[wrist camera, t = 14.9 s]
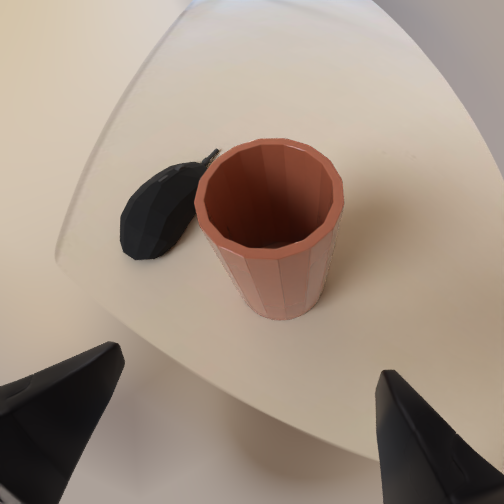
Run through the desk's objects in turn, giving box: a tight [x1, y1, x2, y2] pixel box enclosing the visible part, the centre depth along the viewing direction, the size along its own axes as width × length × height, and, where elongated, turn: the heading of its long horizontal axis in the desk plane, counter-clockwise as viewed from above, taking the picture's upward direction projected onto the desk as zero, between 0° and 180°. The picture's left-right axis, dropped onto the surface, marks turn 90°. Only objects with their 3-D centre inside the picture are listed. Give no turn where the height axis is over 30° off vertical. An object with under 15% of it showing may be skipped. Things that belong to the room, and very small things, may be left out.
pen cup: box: [194, 138, 344, 320], centre depth 19 cm, size 7×7×12 cm
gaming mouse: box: [120, 149, 219, 260], centre depth 28 cm, size 6×15×4 cm, turn 148°
